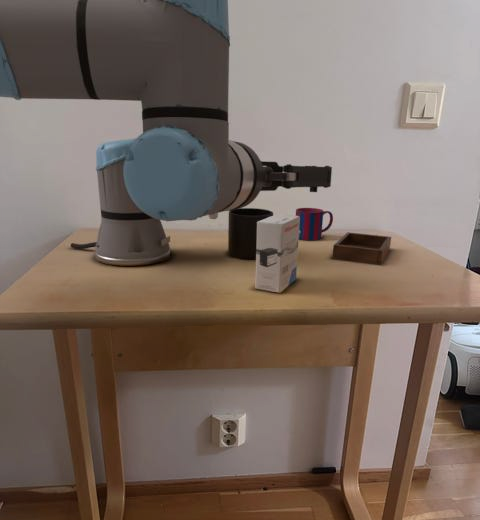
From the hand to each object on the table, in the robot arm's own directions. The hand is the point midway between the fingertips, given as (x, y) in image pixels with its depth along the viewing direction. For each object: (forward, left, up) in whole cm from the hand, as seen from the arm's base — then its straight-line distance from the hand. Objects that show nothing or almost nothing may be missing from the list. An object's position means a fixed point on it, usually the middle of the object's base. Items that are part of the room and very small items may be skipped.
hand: (269, 175), depth 72 cm
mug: (-12, +26, -20) cm, 34 cm away
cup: (-5, +48, -20) cm, 52 cm away
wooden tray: (+9, +37, -19) cm, 43 cm away
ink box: (-1, +8, -20) cm, 21 cm away
